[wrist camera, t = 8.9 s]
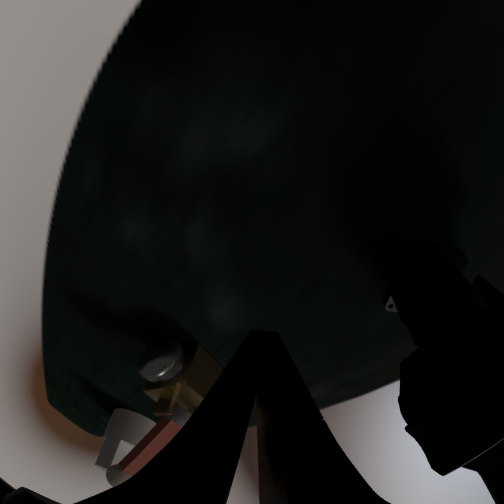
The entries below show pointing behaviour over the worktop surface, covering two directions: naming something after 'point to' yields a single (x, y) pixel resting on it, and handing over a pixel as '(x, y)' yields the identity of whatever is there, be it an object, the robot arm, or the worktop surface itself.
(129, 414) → the base with upright slab
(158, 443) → the valve lever
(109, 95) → the worktop surface
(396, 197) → the worktop surface
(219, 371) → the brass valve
